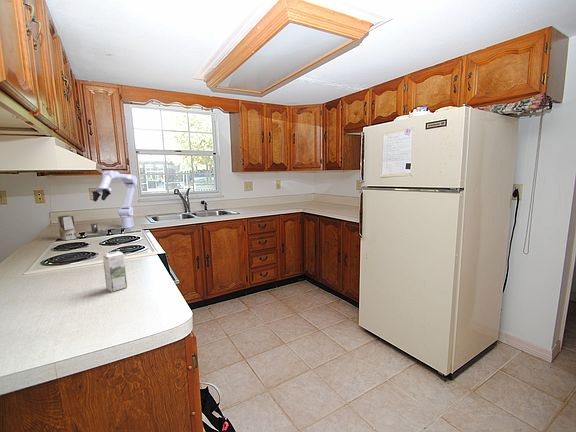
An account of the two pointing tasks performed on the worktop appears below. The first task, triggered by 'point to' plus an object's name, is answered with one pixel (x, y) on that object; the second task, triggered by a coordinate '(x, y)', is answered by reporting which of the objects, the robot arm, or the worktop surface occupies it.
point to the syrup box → (115, 271)
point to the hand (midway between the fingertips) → (98, 200)
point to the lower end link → (119, 231)
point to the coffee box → (66, 227)
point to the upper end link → (108, 229)
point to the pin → (94, 228)
